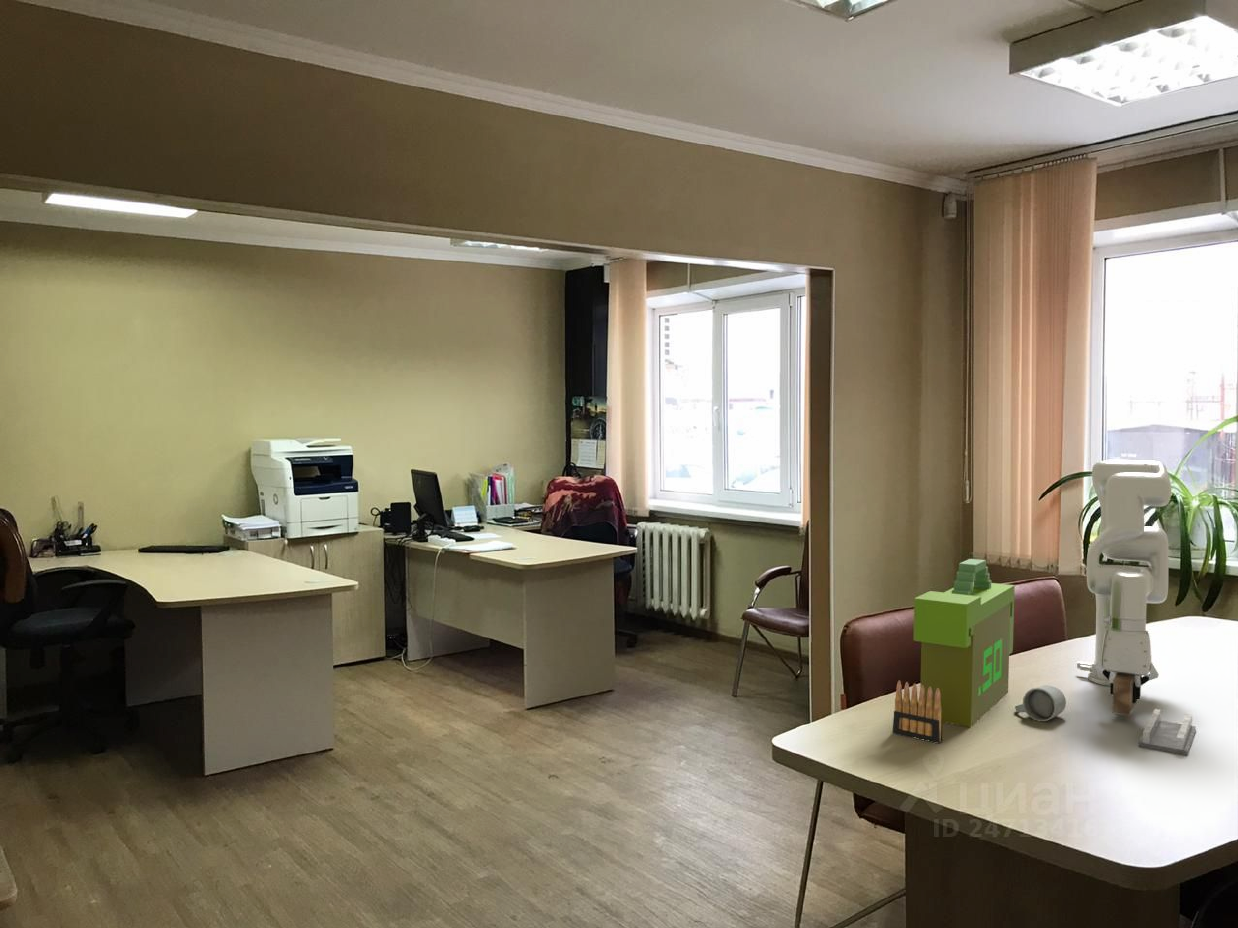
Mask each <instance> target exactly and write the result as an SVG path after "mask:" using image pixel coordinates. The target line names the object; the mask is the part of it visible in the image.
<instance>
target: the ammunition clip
mask: <svg viewBox="0 0 1238 928" xmlns="http://www.w3.org/2000/svg"><path fill="white" fill-rule="evenodd" d="M895 689H896V690H895V691H896V692H895V699H894V711H893V721H892V734H894V733H895V735H899V736H903V737H909V738H912V737H916V738H919V739H918V740H920V739H924V740H923V741H925V740H929V741H933V742H938V743H939V744H940V743H942V742H943V722H942V719H941V697H940V690H939V688H937V690H936V693H935V702H934V706H933V693H932V688H931V686H929V688H928V692H927V702H926V703H925V690H924V686H923V685H921V688H919V695H918V688H917V684H916V683H915V682H914V683H913V684H912V688H911V696H910V685H909V682H908V681H906V682H905V685H904V687H902V682H901V679H900V680H898V681H897V683H896V688H895ZM918 696H919V697H918ZM916 738H915V739H916ZM929 741H928V742H929ZM941 741H942V742H941ZM933 742H932V743H933ZM938 743H937V744H938Z"/></svg>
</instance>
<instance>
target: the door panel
mask: <svg viewBox="0 0 1238 928" xmlns="http://www.w3.org/2000/svg"><path fill="white" fill-rule="evenodd" d="M1134 683H1135V679H1134V675H1133V674H1126V673H1119V672H1118V673H1117V675H1116V676H1115V678H1114V682H1113V695H1112V712H1111V713H1113V714H1118V715H1124V716H1130V715H1131V713H1132V712H1133V709H1134V707H1135V705H1136V704H1135V703H1133V702H1132V699H1133V686H1134Z"/></svg>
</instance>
